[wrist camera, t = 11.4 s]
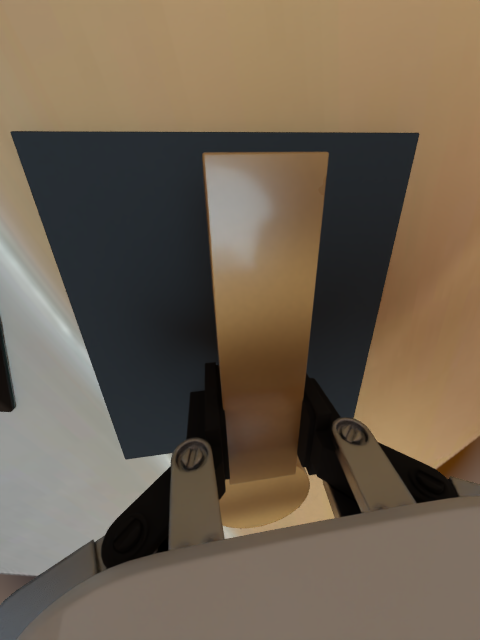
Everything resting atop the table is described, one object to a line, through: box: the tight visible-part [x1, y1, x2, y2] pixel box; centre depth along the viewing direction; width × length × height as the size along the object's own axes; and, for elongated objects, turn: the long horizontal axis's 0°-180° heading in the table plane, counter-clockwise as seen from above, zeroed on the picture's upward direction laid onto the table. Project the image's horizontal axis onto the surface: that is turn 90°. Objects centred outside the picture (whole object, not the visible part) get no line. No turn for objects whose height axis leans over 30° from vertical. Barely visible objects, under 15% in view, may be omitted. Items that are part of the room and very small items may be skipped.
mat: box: [11, 131, 419, 459], centre depth 16 cm, size 20×22×1 cm
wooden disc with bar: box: [202, 152, 329, 528], centre depth 11 cm, size 18×6×3 cm, turn 2°
